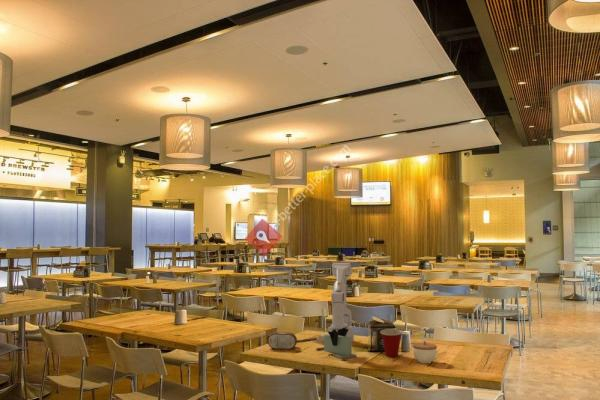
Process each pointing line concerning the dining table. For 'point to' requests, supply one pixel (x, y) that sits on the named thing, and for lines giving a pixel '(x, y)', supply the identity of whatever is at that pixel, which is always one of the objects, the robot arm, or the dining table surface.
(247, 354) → the dining table surface
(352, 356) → the mat
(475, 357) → the dining table surface
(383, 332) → the plastic cup
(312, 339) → the rack
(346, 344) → the pale green block
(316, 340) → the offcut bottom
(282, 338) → the tin
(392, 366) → the dining table surface
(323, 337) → the offcut top
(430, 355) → the lidded jar
